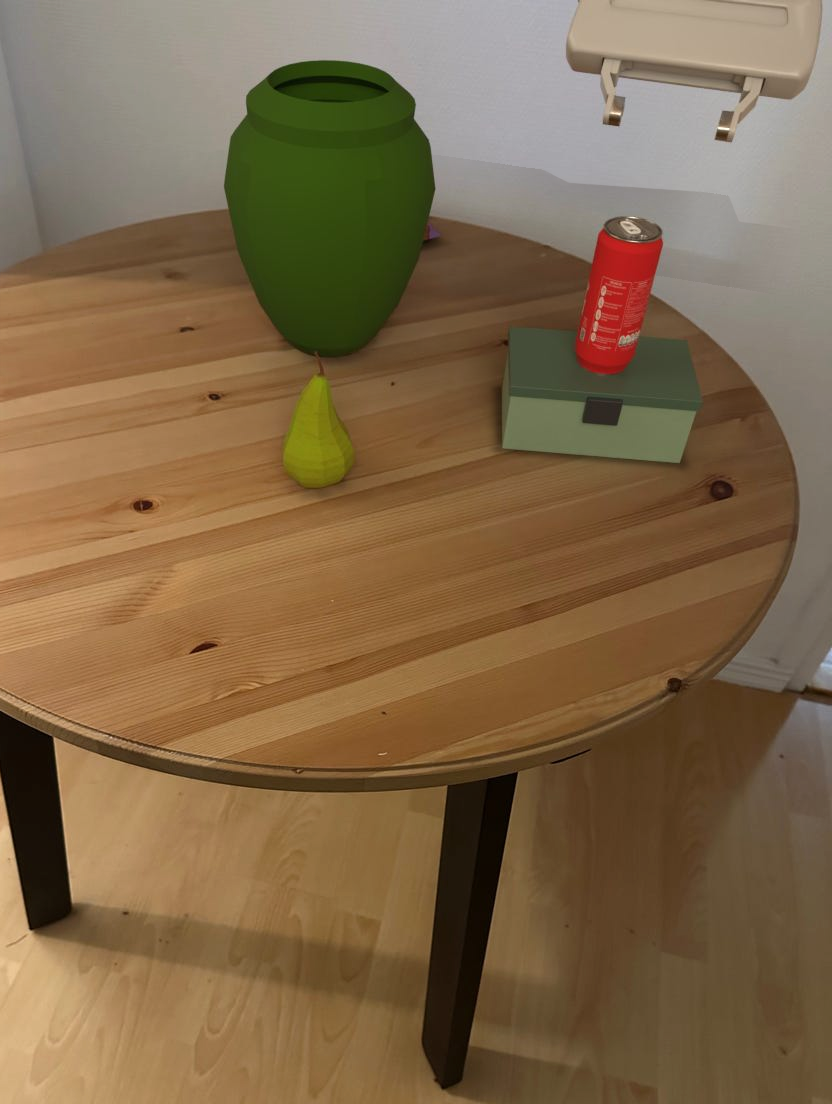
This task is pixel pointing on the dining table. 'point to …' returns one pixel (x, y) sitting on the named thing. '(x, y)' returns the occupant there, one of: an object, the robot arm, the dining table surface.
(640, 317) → the beverage can
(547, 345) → the box
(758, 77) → the robot arm
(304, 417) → the fruit
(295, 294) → the vase
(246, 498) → the dining table surface
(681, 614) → the dining table surface
